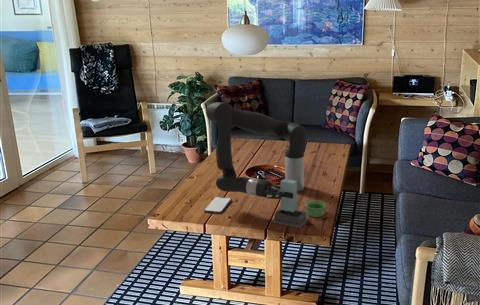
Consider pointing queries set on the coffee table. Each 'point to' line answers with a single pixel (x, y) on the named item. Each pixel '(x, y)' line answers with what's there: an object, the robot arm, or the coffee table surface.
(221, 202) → the phone case
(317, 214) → the ramekin
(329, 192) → the coffee table surface
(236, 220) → the coffee table surface
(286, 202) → the tall teal prism
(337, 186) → the coffee table surface
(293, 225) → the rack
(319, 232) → the coffee table surface
